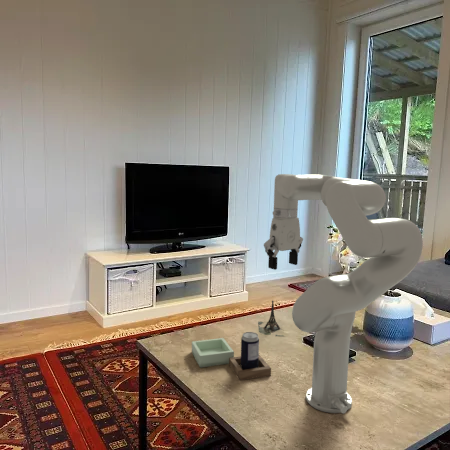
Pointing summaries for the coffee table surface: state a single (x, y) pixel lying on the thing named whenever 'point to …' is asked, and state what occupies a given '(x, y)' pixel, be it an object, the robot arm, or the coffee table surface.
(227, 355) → the tray
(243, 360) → the beverage can
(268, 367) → the socket block
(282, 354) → the coffee table surface
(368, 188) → the robot arm
